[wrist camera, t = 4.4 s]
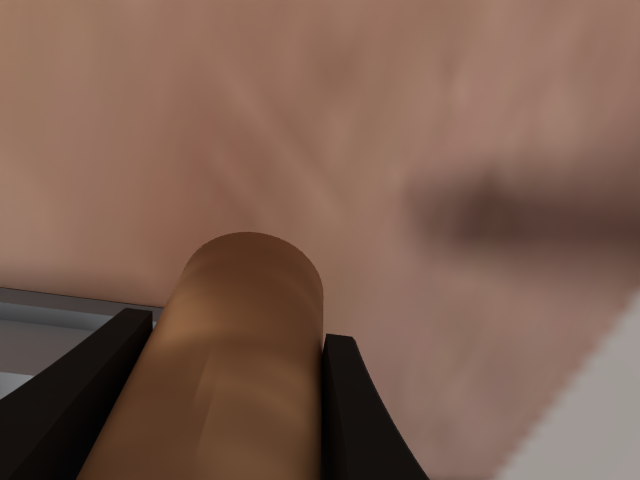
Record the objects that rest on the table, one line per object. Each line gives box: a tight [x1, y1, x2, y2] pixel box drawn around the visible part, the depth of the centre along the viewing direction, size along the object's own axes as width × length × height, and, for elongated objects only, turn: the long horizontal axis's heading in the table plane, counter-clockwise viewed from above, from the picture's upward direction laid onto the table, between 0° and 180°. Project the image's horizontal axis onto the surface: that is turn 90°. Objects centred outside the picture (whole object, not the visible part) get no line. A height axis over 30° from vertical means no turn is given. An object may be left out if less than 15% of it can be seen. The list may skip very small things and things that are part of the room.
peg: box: [76, 232, 323, 480], centre depth 10 cm, size 4×4×8 cm
